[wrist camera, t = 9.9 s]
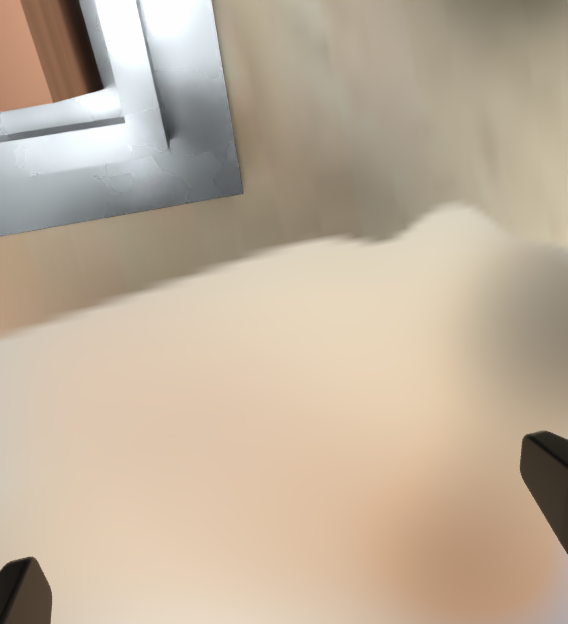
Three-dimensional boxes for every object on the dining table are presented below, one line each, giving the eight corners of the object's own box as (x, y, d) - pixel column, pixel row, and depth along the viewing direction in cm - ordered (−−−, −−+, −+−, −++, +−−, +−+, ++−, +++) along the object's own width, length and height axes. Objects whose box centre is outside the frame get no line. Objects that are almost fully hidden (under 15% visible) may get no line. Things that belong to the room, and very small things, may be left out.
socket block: (169, -239, 15) (168, -333, 11) (240, 189, 20) (254, 213, 16) (-306, -202, 13) (-473, -297, 10) (-93, 247, 18) (-153, 287, 15)
